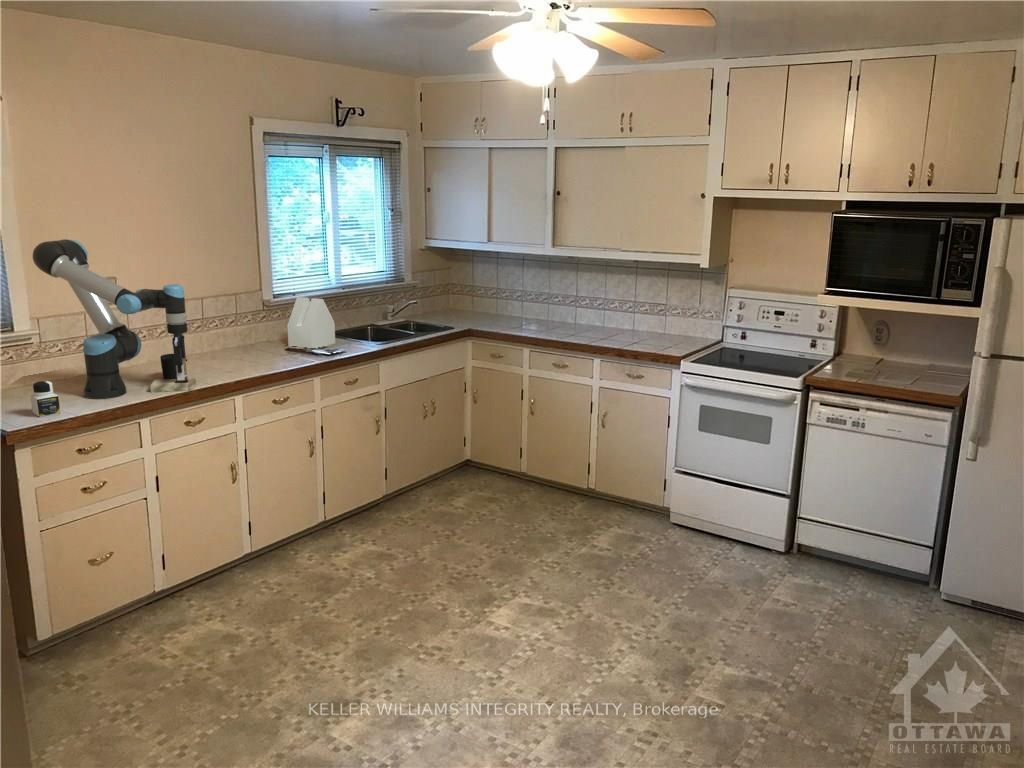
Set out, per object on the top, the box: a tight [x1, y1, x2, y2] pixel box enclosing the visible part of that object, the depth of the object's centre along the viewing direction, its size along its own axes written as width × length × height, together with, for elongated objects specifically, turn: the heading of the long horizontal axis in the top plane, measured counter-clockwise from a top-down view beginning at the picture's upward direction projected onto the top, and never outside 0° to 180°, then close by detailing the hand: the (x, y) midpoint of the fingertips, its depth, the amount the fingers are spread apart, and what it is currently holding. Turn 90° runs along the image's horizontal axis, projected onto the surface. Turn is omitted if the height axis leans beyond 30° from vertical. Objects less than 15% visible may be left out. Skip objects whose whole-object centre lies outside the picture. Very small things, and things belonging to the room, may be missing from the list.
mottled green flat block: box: [149, 377, 197, 393], centre depth 322 cm, size 16×9×3 cm, turn 104°
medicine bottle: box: [29, 380, 61, 418], centre depth 285 cm, size 7×7×12 cm
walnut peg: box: [176, 357, 189, 383], centre depth 322 cm, size 4×4×10 cm
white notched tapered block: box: [286, 296, 336, 349], centre depth 409 cm, size 19×15×25 cm
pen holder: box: [159, 353, 177, 380], centre depth 339 cm, size 9×9×10 cm
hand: (182, 378), depth 322 cm, fingers closed on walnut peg, 4 cm apart
